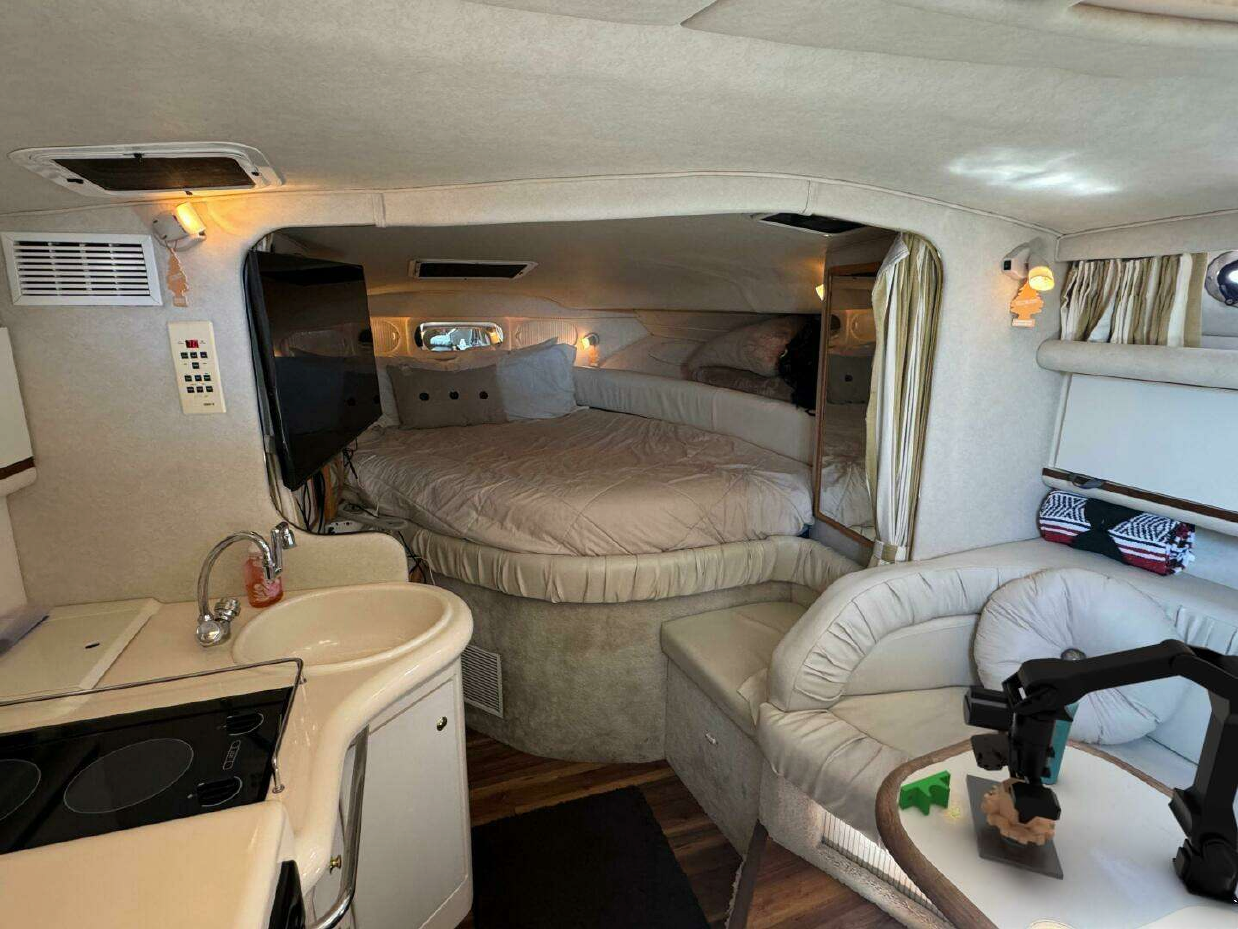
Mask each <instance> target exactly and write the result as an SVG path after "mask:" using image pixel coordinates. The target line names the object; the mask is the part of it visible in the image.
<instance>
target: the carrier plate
mask: <svg viewBox="0 0 1238 929" xmlns="http://www.w3.org/2000/svg"><path fill="white" fill-rule="evenodd" d="M965 780H966V785H967V793H968V796H969V797H968V798H969V803H970V809H971V815H972V821H973V827H974V832H975V837H976V838H975V840H976V844H977V851H978V857H979V858H980V859H981V858H982V859H984V860H988V861H989V860H990V861H992V862H997V863H1000V864H1003V865H1007V866H1010V867H1013V868H1017V869H1021V870H1025V871H1028V872H1033V873H1036V874H1038V875H1039V874H1040V875H1043V876H1047V877H1051V878H1055V879H1058V880H1062V881H1063V880H1064V877H1065V874H1064V871H1063V868H1062V865H1061V862H1060V858H1059V856H1058V855H1059V854H1058V853H1057V849H1056V845H1055V842H1054V837H1053V838H1052V840H1051V841H1050V840H1049V839H1047V838H1045V837H1044V838H1045V842H1044V844H1043V845H1037V844H1036V843H1035V842H1031V841H1027V844H1023V843H1019V839H1018V838H1015V837H1012V836H1008V837H1006V836H1004V835H1002V834H1001V833H1000V831H1001V829H1000V828H999V827H998V826H996V825H990V824H989V823H988V822H987V815H988V814H987V813H983V812H982V809H981V806H982V802H983V796H984V795H985V794H986V793H987V794H989V795H991V796H992V792H993V790H996V789H999V790H1001V784H1002V781H997V780H994V779H989V778H984V777H981V776H976V775H971V774H967V773H966V776H965ZM983 803H985V802H983Z"/></svg>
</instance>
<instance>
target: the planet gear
mask: <svg viewBox="0 0 1238 929" xmlns="http://www.w3.org/2000/svg"><path fill="white" fill-rule="evenodd" d="M1018 781H1021V782H1025V780H1020V779H1016V778H1012V777H1011V778H1010V777H1009V778H1007V779H1005V780H1002V781H1001V782H1002V784H1001V790H999V789H996V790H993V792H992V796H991V795H989V794H987V793H986V794H985V795H984V796H983V802H985V803H983V802H982V806H981V809H982V812H983V813H987V814H988V815H987V822H988V823H989V824H990V825H996V826H998V827H999V828H1000V829H1001V831H1000V833H1001V834H1002V835H1004V836H1006V837H1008V836H1012V837H1015V838H1018V839H1019V843H1023V844H1027V841H1031V842H1035V843H1036V844H1037V845H1043V844H1044V842H1045V838H1047V839H1049V840H1050V841H1051V840H1052V838H1053V839H1054V836H1055V826H1056V824H1055V822H1056V821H1054V820H1050V819H1045V818H1041V817H1035V818H1034V819H1033V820H1031V821H1030V822H1028V823H1027V824H1022V823H1019V821H1018V811H1017V810H1015V809H1014V806H1013V803H1012V799H1011V796H1010V792H1009V788H1008V787H1010V788H1011V786H1012V784H1013V783H1016V782H1018ZM1044 837H1045V838H1044Z"/></svg>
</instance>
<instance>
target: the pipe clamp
mask: <svg viewBox="0 0 1238 929" xmlns="http://www.w3.org/2000/svg"><path fill="white" fill-rule="evenodd" d="M951 776H952V774H951V773H950V772H949V771H947V770H946V769H945V770H942V771H939V772H936V774H932V775H930V776H927V777H924V778H921V779H918V780H915V781H912V782H910V783H907V784H905V785H902V786H900V787H899V788H900V789H899V795H898V796H899V797H898V804H897V805H899V806H900V807H899V806H898V807H899V808H900V809H901V810H902V811H904V810H906V809H910V808H912V807H914V806H915V807H916V808H917V809H918V810H920V812H921V813H923V814H924V816H926V817H927V816H929V815H930V813H931V812H930V811H931V805H933V804H935V805H937V806H940V807H942V808H943V809H946V808H947V809H948V808H949V802H950V792H951V788H950V782H951Z"/></svg>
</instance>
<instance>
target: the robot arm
mask: <svg viewBox="0 0 1238 929" xmlns="http://www.w3.org/2000/svg"><path fill="white" fill-rule="evenodd" d="M1174 677H1181V678H1184V679H1186V680H1189V681H1192V682H1193V683H1195V684H1197V685H1199V686H1200V687H1202V688H1204V689H1206V690H1207V695H1208V698H1209V703H1210V708H1211V712H1210V716H1209V720H1208V724H1207V728H1206V731H1205V735H1204V741H1203V743H1202V746H1201V747H1202V748H1201V752H1200V755H1199V758H1198V759H1199V760H1198V763H1197V767H1196V770H1195V774H1194V780H1193V783H1192V784H1191V785H1190V786H1188V787H1187V788H1184V789H1183V788H1178V787H1176V786H1175V787H1173V788H1172V797H1171V800H1170V802H1169V803H1168V804H1167V807H1168V808H1169V810H1170V811H1171V813H1172V815H1173V817H1174V818H1175V820H1176V822H1177V823H1178V825H1179V827H1180V828H1181V829H1182V831H1183V834H1184V835H1185V837H1186V838H1184V840H1183V844H1182V846H1179V847H1177V852H1176V855H1175V857H1172V859H1171V861H1172V863H1173V867H1174V869H1175V871H1176V874H1177V875H1178V877H1179V878H1180V880H1181V881H1182V884H1183V885H1184V887H1185V889H1186V891H1187V892H1188V893H1190V894H1193V895H1196V896H1199V897H1200V896H1201V897H1205V898H1208V899H1211V900H1215V901H1219V902H1222V903H1226V904H1230V903H1232V904H1231V905H1234V904H1238V897H1237V894H1236V891H1237V888H1238V822H1237V818H1236V813H1235V811H1234V810H1235V809H1234V803H1235V800H1236V799H1235V798H1236V796H1237V792H1238V655H1234V654H1227V655H1226V654H1223V653H1221V652H1219V651H1216V650H1214V649H1211V648H1209V647H1205V646H1200V645H1199V646H1198V645H1192V644H1189V643H1186V642H1184V641H1182V640H1180V639H1179V640H1178V639H1175V638H1168V639H1164V640H1162V641H1160V642H1159V643H1156V644H1155V643H1154V644H1150V645H1145V646H1141V647H1135V648H1131V649H1126V650H1121V651H1116V652H1112V653H1107V654H1102V655H1096V656H1092V657H1087V658H1081V659H1071V660H1069V659H1065V658H1064V659H1063V658H1057V657H1044V658H1043V657H1042V658H1033V659H1031V658H1030V659H1029V660H1025V661H1023V662H1022V663H1021V664H1020V666H1019V668H1018V670H1017V671H1015V672H1014V673H1013V674H1011V675H1009V677H1008V678H1006V679H1004V680H1003V681H1002V682H1001V684H1000V685H1001V688H1002V690H997V689H991V688H985V687H982V686H979V685H973V684H971V685H969V687H968V688H969V689H967V690H966V692H965V694H964V695H963V701H962V702H963V704H962V705H963V706H962V712H963V713H962V715H963V721H964V724H965V725H966V726H970V727H976V728H982V729H986V730H987V729H988V730H992V731H996V733H982V734H974V735H971V736H970V738H969V739H970V745H971V748H972V752H973V756H974V759H975V762H976V765H977V767H978V768H981V769H983V770H985V771H987V772H995V771H996V772H997V771H1000V772H1001V771H1002V770H1003V769H1004V767H1007V769H1008V770H1007V771H1008V772H1009V778H1011V777H1012V778H1016V779H1020V780H1025V782H1021V781H1018V782H1016V783H1013V784H1012V786H1011V788H1010V787H1008V788H1009V792H1010V796H1011V799H1012V803H1013V806H1014V809H1015V810H1017V811H1018V821H1019V823H1022V824H1027V823H1028V822H1030V821H1031V820H1033V819H1034V818H1035V817H1041V818H1045V819H1050V820H1054V822H1057V821H1059V820H1060V819H1061V815H1062V814H1061V813H1062V807H1061V805H1060V802H1059V799H1058V796H1057V794H1056V792H1055V791H1053V789H1052V788H1051V787H1046V786H1044V783H1043V782H1042V780H1041V777H1044V778H1049V779H1050V777H1051V772H1050V769H1049V766H1048V764H1049V759H1050V757H1051V758H1054V757H1055V751H1054V748H1053V746H1052V744H1053V738H1054V733H1055V728H1056V723H1057V720H1061V721H1066V722H1072V723H1073V722H1074V719H1075V718H1074V719H1073V717H1072V715H1071V713H1070V711H1069V709H1068V707H1067V706H1068V705H1071V704H1074V703H1076V702H1077V701H1078V702H1080V700H1081V699H1082V698H1084V697H1085V696H1086V695H1087V694H1090V693H1094V692H1097V691H1104V690H1108V689H1114V688H1119V687H1125V686H1130V685H1136V684H1140V683H1141V684H1142V683H1149V682H1151V681H1158V680H1165V679H1169V678H1174ZM1020 689H1022V690H1023V693H1024V696H1025V697H1024V698H1023V697H1022V693H1021V692H1020ZM1234 900H1236V901H1237V902H1235V901H1234Z"/></svg>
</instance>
